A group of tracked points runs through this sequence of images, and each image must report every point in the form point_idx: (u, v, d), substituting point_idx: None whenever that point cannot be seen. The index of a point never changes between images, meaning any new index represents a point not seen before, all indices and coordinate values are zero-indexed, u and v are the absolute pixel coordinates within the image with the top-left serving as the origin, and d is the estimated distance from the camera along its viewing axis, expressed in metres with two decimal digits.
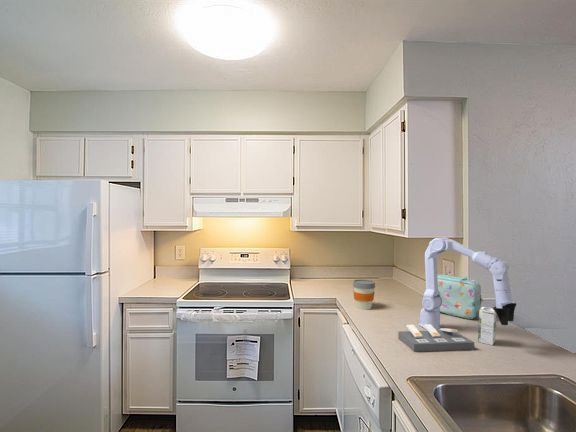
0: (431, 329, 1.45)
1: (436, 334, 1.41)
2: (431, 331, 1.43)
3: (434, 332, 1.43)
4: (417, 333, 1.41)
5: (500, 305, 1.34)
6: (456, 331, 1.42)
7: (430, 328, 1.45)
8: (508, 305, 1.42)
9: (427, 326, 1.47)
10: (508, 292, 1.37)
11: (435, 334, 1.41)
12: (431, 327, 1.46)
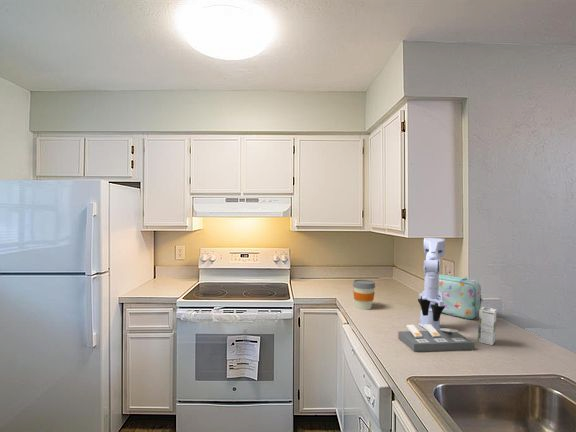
0: (431, 329, 1.45)
1: (436, 334, 1.41)
2: (431, 331, 1.43)
3: (434, 332, 1.43)
4: (417, 333, 1.41)
5: None
6: (456, 331, 1.42)
7: (430, 328, 1.45)
8: None
9: (427, 326, 1.47)
10: (424, 288, 1.47)
11: (435, 334, 1.41)
12: (431, 327, 1.46)
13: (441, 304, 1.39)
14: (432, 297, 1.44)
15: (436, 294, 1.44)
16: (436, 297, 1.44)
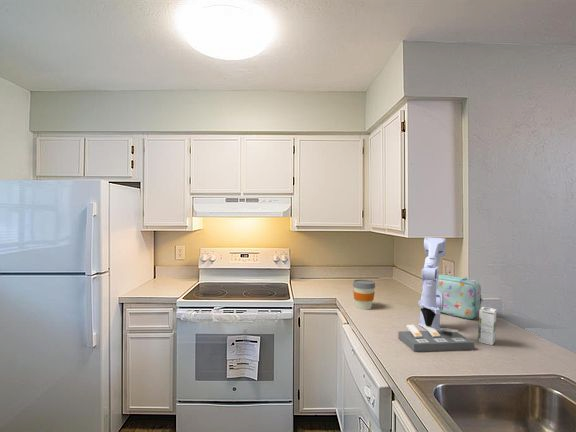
0: (431, 329, 1.45)
1: (436, 334, 1.41)
2: (431, 331, 1.43)
3: (434, 332, 1.43)
4: (417, 333, 1.41)
5: None
6: (456, 331, 1.42)
7: (430, 328, 1.45)
8: None
9: (427, 326, 1.47)
10: (422, 295, 1.48)
11: (435, 334, 1.41)
12: (431, 327, 1.46)
13: (437, 312, 1.40)
14: (429, 305, 1.44)
15: (433, 302, 1.45)
16: (433, 305, 1.45)
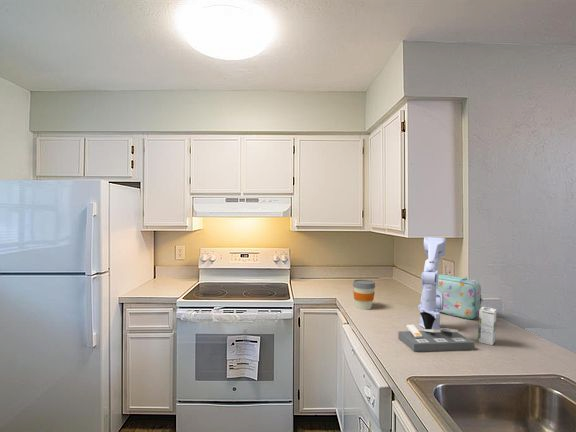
0: (430, 329, 1.45)
1: None
2: (431, 329, 1.43)
3: None
4: (417, 333, 1.41)
5: None
6: (456, 331, 1.42)
7: (430, 329, 1.46)
8: None
9: (427, 329, 1.47)
10: (422, 300, 1.48)
11: (435, 330, 1.41)
12: (431, 329, 1.46)
13: (437, 316, 1.40)
14: (429, 309, 1.45)
15: (433, 306, 1.45)
16: (433, 309, 1.45)
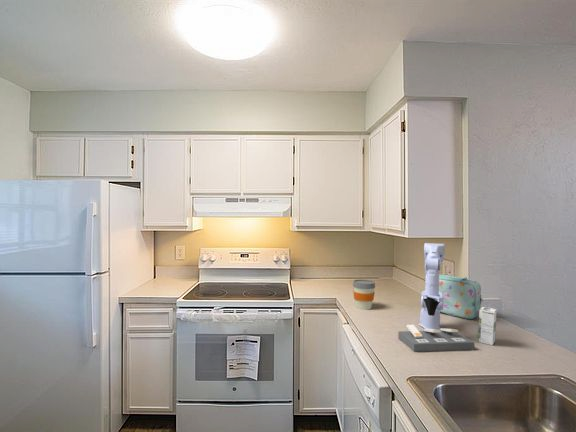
0: (430, 329, 1.45)
1: (436, 330, 1.41)
2: (431, 329, 1.43)
3: None
4: (417, 333, 1.41)
5: None
6: (456, 331, 1.42)
7: (430, 329, 1.46)
8: None
9: (427, 329, 1.47)
10: (425, 285, 1.52)
11: (435, 330, 1.41)
12: (431, 329, 1.46)
13: (440, 300, 1.44)
14: (432, 294, 1.49)
15: (436, 291, 1.49)
16: (436, 294, 1.49)
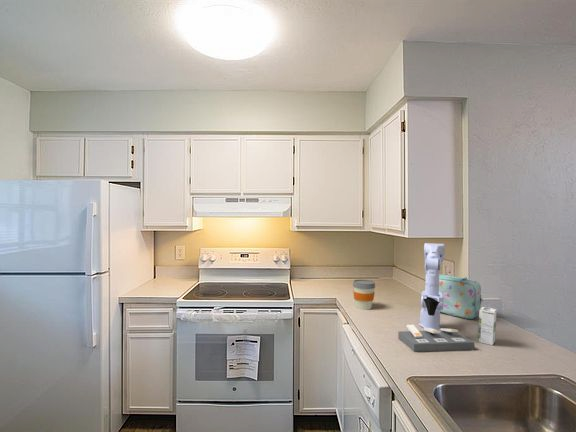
0: (430, 329, 1.45)
1: (436, 330, 1.41)
2: (431, 330, 1.43)
3: (434, 330, 1.43)
4: (417, 333, 1.41)
5: None
6: (456, 331, 1.42)
7: (430, 329, 1.46)
8: None
9: (427, 328, 1.47)
10: (425, 285, 1.52)
11: (435, 330, 1.41)
12: (431, 328, 1.46)
13: (440, 300, 1.44)
14: (432, 294, 1.49)
15: (436, 291, 1.49)
16: (436, 294, 1.49)
